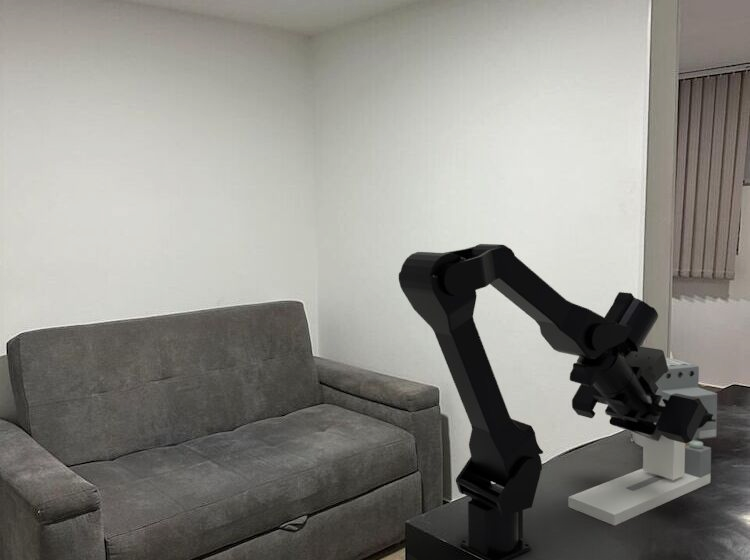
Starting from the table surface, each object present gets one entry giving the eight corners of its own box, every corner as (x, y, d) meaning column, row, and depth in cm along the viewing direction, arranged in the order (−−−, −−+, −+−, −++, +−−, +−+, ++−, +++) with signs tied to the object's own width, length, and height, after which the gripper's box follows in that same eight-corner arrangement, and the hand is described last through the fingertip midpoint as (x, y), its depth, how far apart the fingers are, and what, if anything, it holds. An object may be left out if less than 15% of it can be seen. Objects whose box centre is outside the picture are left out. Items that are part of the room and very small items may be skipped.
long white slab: (614, 525, 93) (615, 479, 92) (568, 507, 99) (568, 464, 98) (710, 482, 106) (711, 442, 106) (664, 468, 113) (665, 430, 112)
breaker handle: (673, 480, 102) (674, 422, 102) (642, 470, 107) (642, 414, 106) (685, 475, 104) (686, 418, 104) (654, 465, 109) (654, 410, 108)
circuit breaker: (684, 467, 113) (686, 377, 112) (630, 441, 127) (631, 360, 125) (723, 462, 115) (725, 373, 114) (665, 436, 129) (667, 357, 127)
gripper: (700, 340, 92) (740, 407, 99) (583, 324, 107) (626, 383, 114) (665, 409, 88) (710, 473, 95) (549, 383, 103) (596, 439, 110)
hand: (657, 437), depth 104 cm, fingers closed, pressing on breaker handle
